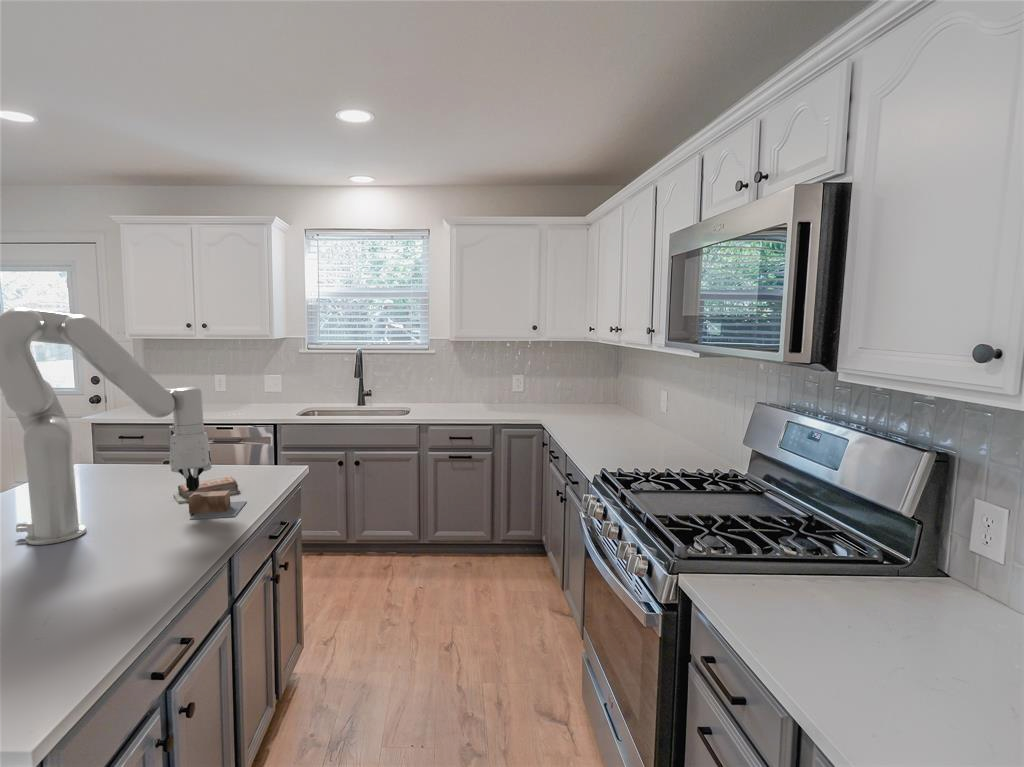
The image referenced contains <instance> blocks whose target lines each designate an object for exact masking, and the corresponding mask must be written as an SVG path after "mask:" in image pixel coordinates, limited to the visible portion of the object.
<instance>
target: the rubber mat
mask: <svg viewBox="0 0 1024 767" xmlns="http://www.w3.org/2000/svg"><path fill="white" fill-rule="evenodd" d="M247 502H248V501H246V500H245V501H243V500H242V501H241V500H240V501H230V504H231V507H230V508H229V509H228V510H227V511H226V512H213V513H196V514H192V516H191V517H190V518H189V520H190V521H191V520H209V519H223V518H226V519H227V518H235V517H237V516H238V514H239V513H240V512H241V510H242V509H243V508H244V507H245V506H246V504H247Z"/></svg>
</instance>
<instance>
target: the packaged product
mask: <svg viewBox="0 0 1024 767" xmlns="http://www.w3.org/2000/svg"><path fill="white" fill-rule="evenodd" d="M177 490H178V491H176V492H172V495H173V498H174V499H175V501H176V503H178V504H179V505H180V504H185V503H189V501H188V497H189V496H190V495H192V494H193V493H194V492H211V491H230V496H231V495H235V494H240V493H241V491H240V489H239V485H238V481H236V479H234V477H232V476H229V477H228V476H227V477H220V478H214V479H207V480H201V481H200V480H199V487H198V489H197V490H195V491H190V492H189V491H188V488H187V487H186V483H181V484H179V485H177Z"/></svg>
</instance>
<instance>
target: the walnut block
mask: <svg viewBox="0 0 1024 767" xmlns="http://www.w3.org/2000/svg"><path fill="white" fill-rule="evenodd" d="M188 501H189V502H188V514H189V515H190V514H191V515H194V514H196V513H213V512H226V511H227V510H228V509H229V508H230V507H231V504H230V502H231V495H230V491H211V492H194V493H193V494H192V495H190V496H189V497H188Z"/></svg>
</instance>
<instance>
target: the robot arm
mask: <svg viewBox="0 0 1024 767" xmlns="http://www.w3.org/2000/svg"><path fill="white" fill-rule="evenodd" d="M32 342H36V343H45V344H46V343H47V344H58V345H69V346H70V348H72V349H73V350H74V351H75V352H77V353H78V354H79V355H80V356H81V357H82V358H83V359H85V361H87V363H88V364H90V366H92V367H93V368H94V369H95V370H96V371H97V372H99V373H100V374H101V375H102V376H103V377H104V378H105V379H106V380H107V381H109V382H110V383H111V384H113V385H115V386H116V387H117V388H118V389H120V390H121V391H122V392H123V393H124V394H125V395H126V396H127V397H128V398H130V399H131V400H132V401H133V402H134V403H135V404H136V405H137V406H138V407H140V409H142V411H144V412H145V413H146V414H147V415H148V416H150V417H151V418H152V417H153V418H157V419H159V418H160V419H161V418H166V417H168V416H169V415H170V414H173V425H169V427H168V429H169V432H171V431H172V432H173V434H171V437H170V443H169V444H170V445H169V446H170V447H169V467H170V468H171V469H170V471H171V472H172V473H173V472H174V473H177V474H178V473H179V474H181V475H182V476H183V477H184V479H185V482H186V483H185V484H186V487H187V488H188V491H189V492H190V491H195V490H197V489H198V487H199V482H200V477H199V476H200V475H202V473H203V472H207V471H210V470H212V469H213V466H212V463H211V462H212V453H211V447H210V446H211V445H210V441H209V437H208V434H207V432H205V427H204V426H205V425H204V412H203V410H204V409H203V396H202V390H201V389H200V388H199V387H195V386H184V387H177V388H164V387H163V386H162V385H161V384H160V383H159V382H158V381H156V379H154V378H153V377H152V376H151V375H150V374H149V373H148V372H147V371H146V370H145V369H144V367H142V365H141V364H140V363H139V362H138V361H137V359H136V358H135V357H134V356H133V355H132V354H131V353H130V352H129V351H127V350H126V348H124V347H123V346H122V345H121V344H120V343H119V342H118V341H117V340H115V338H114V337H113V336H112V335H110V334H109V333H108V332H107V331H106V330H105V329H104V328H103V326H101V325H100V324H99V323H98V322H97V321H95V320H94V318H92V317H91V316H88V315H84V314H75V313H74V314H73V313H63V312H56V311H55V312H54V311H46V310H39V309H34V308H33V309H32V308H28V307H14V308H11V309H8V310H6V311H5V312H3V313H2V314H0V390H1V393H2V394H3V396H4V399H5V403H6V405H7V406H8V407H9V409H10V410H11V411H12V412H14V413H15V415H16V417H17V419H18V422H19V423H20V425H21V427H22V429H23V431H24V433H23V439H22V441H23V452H24V457H25V459H24V460H25V465H26V466H25V467H26V476H27V483H28V484H27V485H28V493H29V494H28V495H29V496H28V497H29V507H30V517H31V522H27V521H26V522H25V521H24V522H18V523H17V524H16V526H15V527H16V528H15V532H16V533H23V532H24V533H25V532H26V533H27V535H26V536H25V538H24V540H25V543H26V544H27V545H28V544H29V545H35V546H38V545H39V546H40V545H41V546H44V545H52V544H57V543H58V544H59V543H63V542H67V541H70V540H73V539H76V538H79V537H81V536H82V535H84V534H85V533H86V532H87V526H86V525H84V524H81V523H79V513H78V502H77V498H78V497H77V488H76V486H77V485H76V476H75V467H74V453H73V452H74V451H73V435H72V428H71V425H70V422H69V419H68V417H67V415H66V414H65V411H64V409H63V407H62V405H61V403H60V401H59V399H58V397H57V395H56V394H57V393H55V390H54V388H53V386H52V385H51V384H50V383H49V382H48V381H47V380H46V379H44V378H43V376H42V373H41V371H40V369H39V367H38V364H37V363H36V360H35V358H34V356H33V354H32V351H31V343H32ZM191 469H192V470H191ZM192 471H193V472H192Z"/></svg>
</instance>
